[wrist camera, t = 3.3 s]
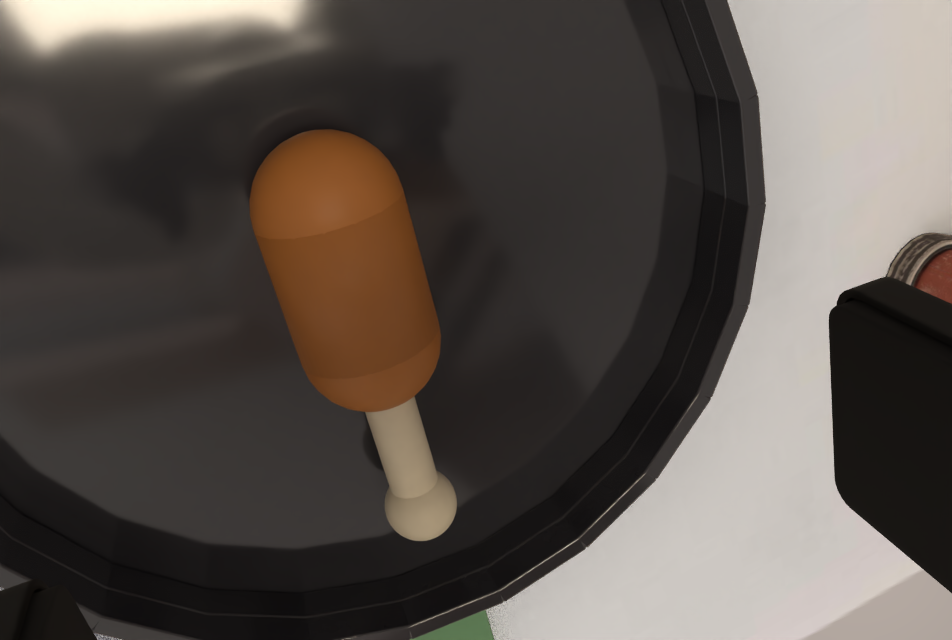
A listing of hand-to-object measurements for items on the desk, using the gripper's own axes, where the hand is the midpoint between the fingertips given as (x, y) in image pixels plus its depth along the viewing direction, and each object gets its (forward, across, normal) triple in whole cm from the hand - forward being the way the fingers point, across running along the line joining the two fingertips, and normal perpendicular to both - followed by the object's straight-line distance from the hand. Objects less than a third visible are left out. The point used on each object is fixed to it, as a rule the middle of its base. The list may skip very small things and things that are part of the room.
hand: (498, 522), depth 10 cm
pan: (+12, 0, 0) cm, 12 cm away
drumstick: (+11, 0, +2) cm, 11 cm away
